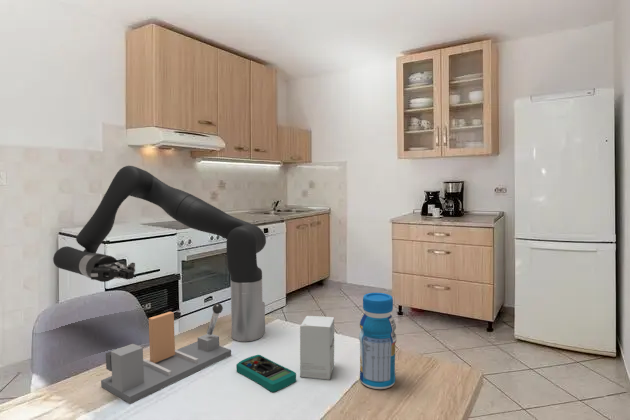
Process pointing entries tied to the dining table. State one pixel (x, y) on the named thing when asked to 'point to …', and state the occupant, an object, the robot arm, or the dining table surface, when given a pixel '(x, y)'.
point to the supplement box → (317, 347)
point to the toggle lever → (214, 318)
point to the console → (159, 367)
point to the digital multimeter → (266, 372)
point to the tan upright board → (161, 337)
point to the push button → (108, 361)
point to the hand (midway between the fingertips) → (130, 275)
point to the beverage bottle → (377, 342)
